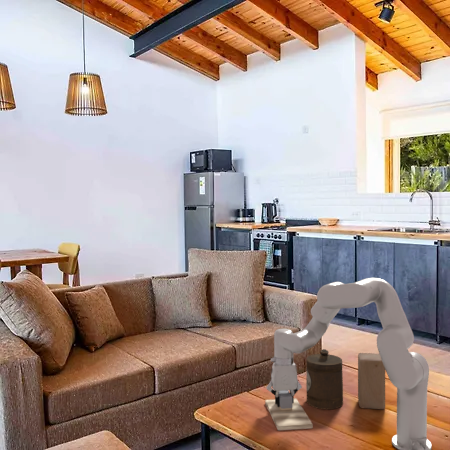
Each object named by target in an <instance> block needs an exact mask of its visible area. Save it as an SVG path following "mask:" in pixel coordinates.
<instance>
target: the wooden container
mask: <svg viewBox="0 0 450 450" xmlns="http://www.w3.org/2000/svg"><path fill="white" fill-rule="evenodd" d="M305 363H306V377H305V378H306V380H305V381H306V382H305V383H306V384H305V385H306V387H305V388H306V403H307V405H309V406H311V407H313V408H316V409H319V410H320V409H321V410H335V409H339V408H340V407H342V406H343V405H344V381H343V380H344V379H343V378H344V376H343V373H344V372H343V359H342V358H341V357H339V356H337V355H334V354H330V353H329V350H327V349H321V350H320V351H319V353H315V354H310V355H308V356H307V357H306V362H305Z"/></svg>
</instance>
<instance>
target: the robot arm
mask: <svg viewBox="0 0 450 450" xmlns="http://www.w3.org/2000/svg"><path fill="white" fill-rule="evenodd" d="M316 294H317V295H316V300H317V301H316V302H315V303H314V304H313V306H312V307H311V309H310V315H311V316H312V318H311V319H310V321H309V322H308V323H307V325H306V326H305V327H304V328H303V329H301V330H299V331H297V332H293V330H291V329H289V328H278V329H276V330H275V331H274V334H273V340H274V341H273V344H274V345H273V347H274V350H273V351H274V355H273V357H272V358H271V357H270V362H271V363H272V362H273V363H272V366H271V367H272V368H271V376H270V381H269V383H268V384H267V386H266V390H267V391H268V392H270V393H272V395H274V400H275V404H277V406H278V407H280V397H279V391H282V390H288V391H289V392H290V394H291V396H292V403H294V397H295V395H296V394H297V393H298V391H299V390H300V389H302V388H303V386H302V384H301V383H300V382H299V380H298V373H297V371H298V370H297V364H296V363H295V362H294V354H301V353H304V352H305V351H307V350H309V349H312V348H313V347H315V346H316V345H317V343H319V342H320V340H321V339H322V338H323V336H324V335H325V334H326V332H327V330H328V328H329V326H330V323H331V322H332V321H333V320H334V319H335V316H337V314H339V312H340V310H341V309H355V308H363V307H365V306H367V305H370V304H372V303H374V304H375V305H376V310H377V311H376V312H377V315H378V318H379V321H380V323H381V326H382V329H381V330H380V331H379V332H378V334H377V337H376V347H377V351H378V354H380V357H381V359H382V362H383V364H384V367H385V373H386V375H387V377H388V379H389V381H390V382H391V384H392V385H393V386H394V387H395V388H396V434H395V435H393V436H392V437H391V444H392V445H393V447H395V449H397V450H432V442H431V441H430V440H429V439H428V438H427V435H428V434H427V432H428V428H427V426H428V425H427V422H428V420H427V419H428V405H427V404H428V385H429V376H430V367H429V363H428V361H427V359H426V357H424V356H423V355H422V354H420V353H419V352H415V351H409V349H410V348H411V347H412V345H413V343H414V342H415V341H414V340H415V336H414V332H413V330H412V328H411V326H410V323H409V321H408V318H407V315H406V313H405V311H404V309H403V306H402V304H401V301H400V298H399V296H398V292H397V291H396V290H395V288H394V286H393V285H391V283H389V282H388V281H386V280H385V279H381V278H379V277H366V278H363V279H360V280H359V281H355V282H350V283H349V282H348V283H344V282H341V281H333V282H330V283H327V284H324V285H322V286H321V287H319V290H318V292H317V293H316Z"/></svg>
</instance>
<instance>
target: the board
mask: <svg viewBox="0 0 450 450" xmlns="http://www.w3.org/2000/svg"><path fill="white" fill-rule="evenodd" d="M264 402H265V406H266V408H267V410H268V412H269V415H270V416H271V418H272V421H273V424H274V425H275V427H276V429H277V431H289V430H291V431H292V430H304V429H306V430H307V429H313V428H314V427H313V426H314V424H313V423H312V420H311V419H310V417H309V416H308V414H307V413H306V411H305V410H304V408H303V407H302V405H301V404H300V401H299V400H298V398H294V403H292V409H291V410H281V409H280V407H278V406H277V404H275V399H265V400H264Z"/></svg>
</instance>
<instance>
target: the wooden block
mask: <svg viewBox="0 0 450 450" xmlns="http://www.w3.org/2000/svg"><path fill="white" fill-rule="evenodd" d="M357 399H358V405H359V408H362V409H369V410H370V409H373V410H385V409H386V370H385V367H384V364H383V362H382V359H381V357H380V354H379V353H375V352H373V353H372V352H371V353H370V352H369V353H368V352H359V353H358V355H357Z"/></svg>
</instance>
